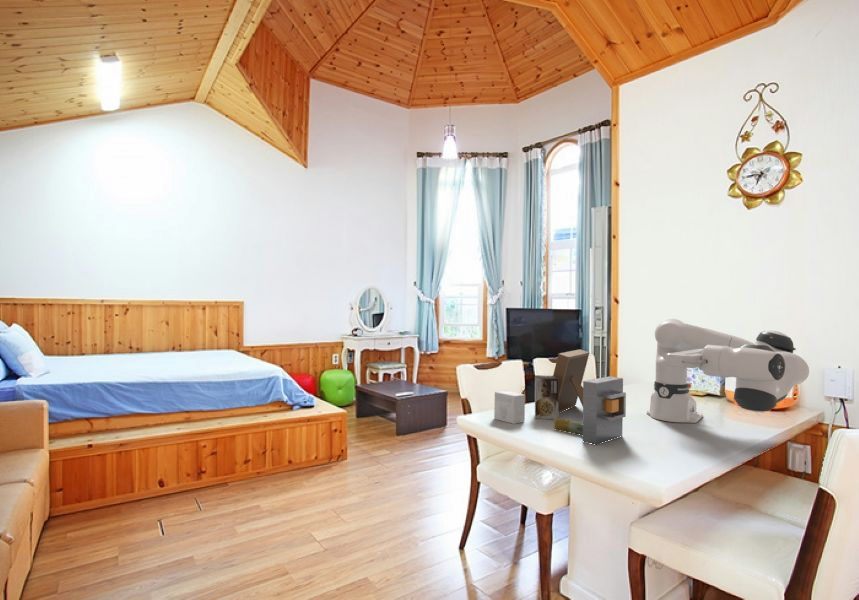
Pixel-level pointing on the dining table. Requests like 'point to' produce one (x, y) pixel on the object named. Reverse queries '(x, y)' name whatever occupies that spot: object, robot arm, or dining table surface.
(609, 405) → the plunger
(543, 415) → the coffee box
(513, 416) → the skincare box
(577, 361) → the photo frame
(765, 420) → the dining table surface
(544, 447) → the dining table surface
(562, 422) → the medication box
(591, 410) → the panel
